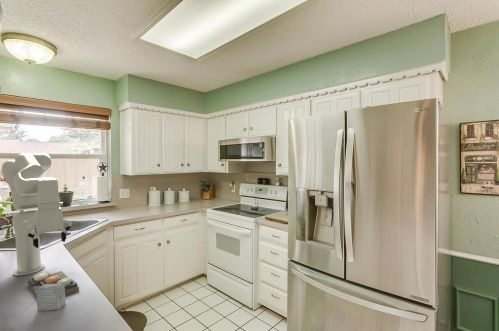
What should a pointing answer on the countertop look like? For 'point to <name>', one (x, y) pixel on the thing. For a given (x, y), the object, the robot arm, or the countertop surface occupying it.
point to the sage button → (65, 281)
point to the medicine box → (50, 297)
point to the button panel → (68, 289)
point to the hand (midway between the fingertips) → (50, 244)
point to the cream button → (40, 277)
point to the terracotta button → (52, 279)
